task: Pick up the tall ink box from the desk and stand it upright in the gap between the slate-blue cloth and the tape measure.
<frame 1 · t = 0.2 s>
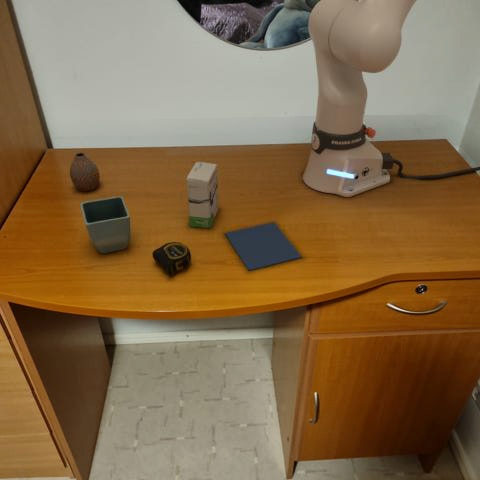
cloth: (262, 246, 104), on the table
flower pot: (112, 246, 104), on the table
tape measure: (172, 267, 99), on the table
ink box: (204, 218, 112), on the table
vase: (88, 188, 122), on the table
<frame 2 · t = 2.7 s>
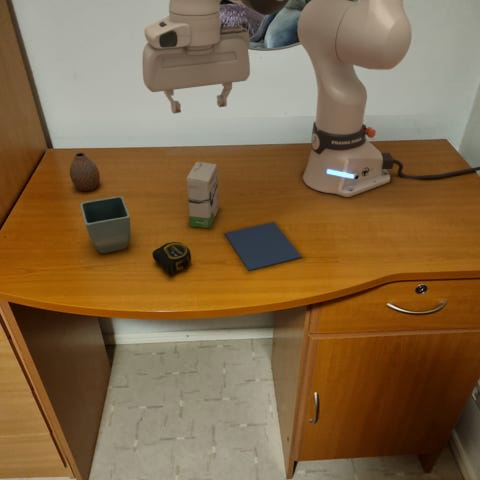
hand: (199, 109, 95), 25 cm above the table, tool pointing down, fingers open, 8 cm apart
nothing on the table moved.
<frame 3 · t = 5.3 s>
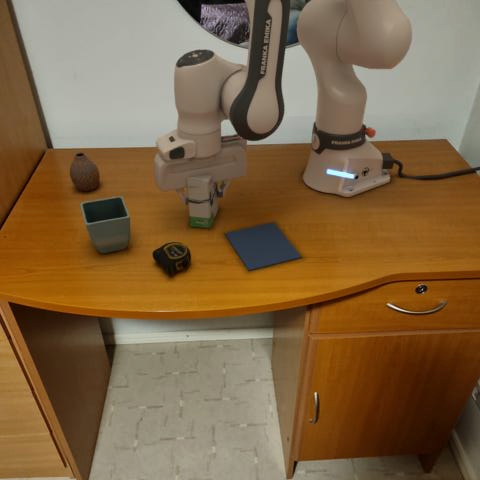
hand: (203, 200, 108), 5 cm above the table, tool pointing down, fingers closed on ink box, 7 cm apart
ink box: (204, 218, 112), on the table, touching gripper
everything else where it was.
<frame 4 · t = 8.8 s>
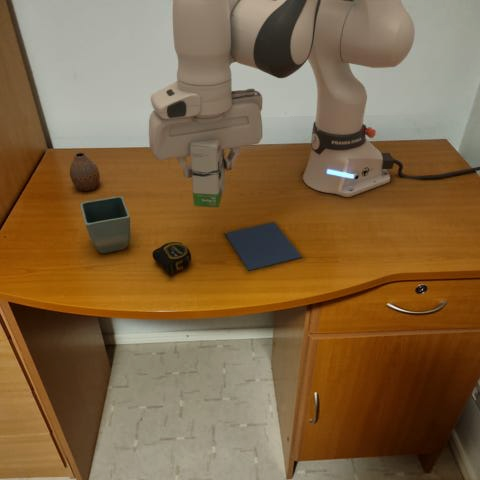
hand: (208, 172, 89), 18 cm above the table, tool pointing down, fingers closed on ink box, 6 cm apart
ink box: (210, 196, 93), point 13 cm above the table, touching gripper
everything else where it was.
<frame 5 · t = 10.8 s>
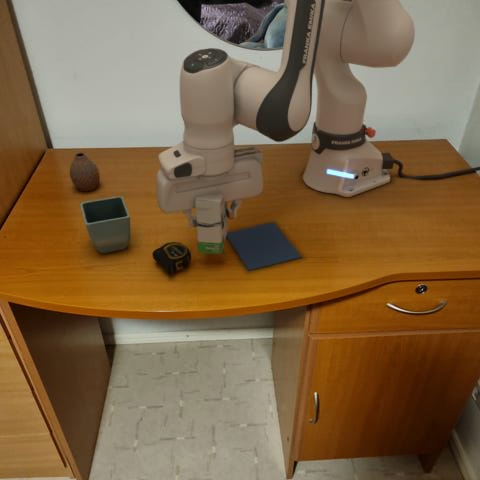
hand: (212, 221, 95), 9 cm above the table, tool pointing down, fingers closed on ink box, 6 cm apart
ink box: (213, 242, 98), point 4 cm above the table, touching gripper
everything else where it was.
when the fingers open (5 cm above the table, at t = 12.4 s): ink box stays where it is, on the table.
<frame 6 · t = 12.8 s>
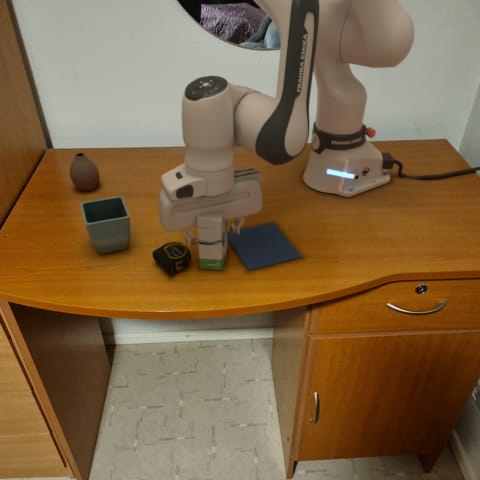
hand: (213, 238, 98), 5 cm above the table, tool pointing down, fingers open, 8 cm apart
ink box: (214, 258, 101), on the table
everything else where it was.
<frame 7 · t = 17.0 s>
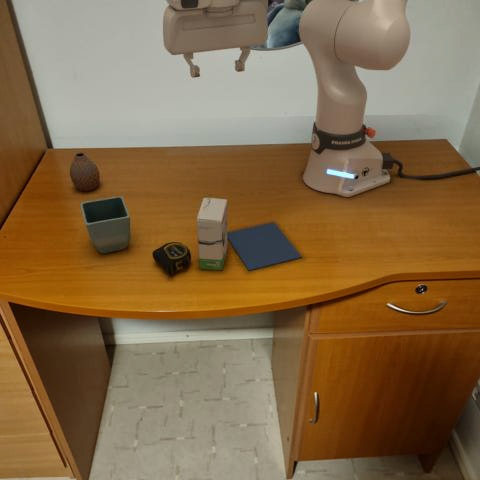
hand: (217, 73, 96), 29 cm above the table, tool pointing down, fingers open, 8 cm apart
nothing on the table moved.
at the end: ink box inside the target area (0.1 cm from its centre), on the table; ink box tilted 0°; the gripper is holding nothing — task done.
